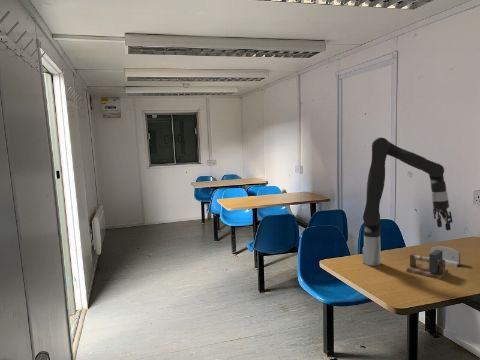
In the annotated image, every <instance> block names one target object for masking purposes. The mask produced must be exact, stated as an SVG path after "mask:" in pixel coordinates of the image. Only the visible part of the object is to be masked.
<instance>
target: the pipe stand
mask: <svg viewBox="0 0 480 360" xmlns="http://www.w3.org/2000/svg"><path fill="white" fill-rule="evenodd" d="M428 257H429V256H428ZM428 257H427V256H424V255H418V254H416V253H411V254H409V267H407V268H406V272H407V273H413V274H417V275H422V276H424V277H425V276H426V277H430V278H434V279H438V280H441V279H442V278H443V277H444V276H445V275H447V274H448V273H449V269H447V268H446V264H445V260H443V259H441V260H438V264H439V271H438V272H437V273H436V274H435V273H430V272H429V265H427V264H423V263H417V261H420V262H426V263H429V258H428Z"/></svg>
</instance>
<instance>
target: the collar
mask: <svg viewBox="0 0 480 360" xmlns="http://www.w3.org/2000/svg"><path fill="white" fill-rule="evenodd" d="M428 255H429V256H428V257H429V262H428V263H429V265H428V266H429V272H430V273H435V274H436V273H437V272H438V271H439V264H438V260H441V259H442V250H435V251H433V252H432V253H430V252H429V254H428Z"/></svg>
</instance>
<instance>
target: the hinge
mask: <svg viewBox="0 0 480 360" xmlns="http://www.w3.org/2000/svg"><path fill="white" fill-rule="evenodd" d="M435 250H442V259H443V260H445V266H446V265H447V266H450V267H454V268H457V267H458V265H459V266H461V265H462V264H461V261H462V259H461V257H462V254H461V252H460V251H458V250H457V249H455V248H454V249H453V248H451V247H448V246H442V245H441V246H439V245H437V246H432V247H431V248H430V251H429V254H430V253H432V252H433V251H435ZM428 258H429V256H428Z"/></svg>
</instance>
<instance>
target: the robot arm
mask: <svg viewBox="0 0 480 360" xmlns="http://www.w3.org/2000/svg"><path fill="white" fill-rule="evenodd" d="M387 156H390V157H393V158H395V159H397V160H398V161H401V162H403V163H404V164H406V165H408V166H411V167H412V168H415V169H417V170H419V171H422V172H424V173H426V174H428V176H429V180H430V189H431V200H432V201H431V202H432V206H433V209H432V212H433V218H434V219H435V221H436V226H437V227H438V228H442V227H443V224H442V223H443V222H442V221H444V224H445V225H444V227H445V230H446V231H451V224H452V223H453V216H452V212H451V211H448V209H449V208H450V204H449V197H448V192H447V191H448V190H447V186H446V185H447V184H446V181H445V179H444V178H445V177H444V173H445V168H444V166H443V165H442V164H441V163H438V162H435V161H432V160H430V159H427V158H425V157H423V156H421V155H419V154H417V153H415V152H412V151H409V150H407V149H404V148H402V147H399V146H397V145H395V144H394V143H392V142H391V141H389V140H388V139H387V138H385V137H377V138H375V139H373V141H372V143H371V163H370V167H369V171H368V175H367V182H366V201H365V202H366V203H365V206H364V211H363V214H362V220H363V247H362V263H363V264H365V265H367V266H372V267H374V266H375V267H377V266H380V265H381V264H382V262H381V261H382V260H381V259H382V256H381V255H382V254H381V253H382V251H381V213H380V204H381V200H382V199H381V198H382V196H383V193H384V189H385V183H386V181H385V180H386V160H387Z"/></svg>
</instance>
